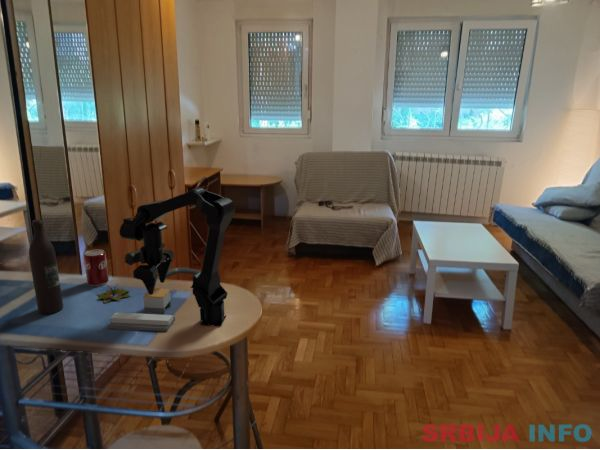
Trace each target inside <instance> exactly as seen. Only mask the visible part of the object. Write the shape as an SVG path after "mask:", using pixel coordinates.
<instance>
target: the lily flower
mask: <svg viewBox="0 0 600 450" xmlns="http://www.w3.org/2000/svg"><path fill="white" fill-rule="evenodd" d="M119 285H120V283H118V284H117V285H116V282H115V283H114V286H113V287H112V286H109V285H108V284H106V287H108V289H106V291H105V292H100V293H96V296H99V297H98V298H97V299H96V301H98V300H102V299H103V304H106V303H108V302H111V301H113V300H115V301H118V302H121V301H120V300H121V299H122V298H126V297H131V295H130V294H128V293H127V292H129V290H127V289H124V288H123V287H121V288H120V287H118V286H119Z"/></svg>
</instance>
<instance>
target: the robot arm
mask: <svg viewBox="0 0 600 450" xmlns="http://www.w3.org/2000/svg"><path fill="white" fill-rule="evenodd" d="M190 205H194V206H195V207H196V209H198V210H199V212H200V213H201V214H204V215H205V221H206V223H207V226H208V233H207V238H206V243H205V248H204V255H203V261H202V266H201V271H199V272H198V273H196V274H194V275H193V276H192V283H191V284H192V285H191V287H190V289H192V295H193V296H194V298H195V301H196V303H197V306H198V308H199V314H200V315H199V316H200V319H199V320H200V325H201V326H210V325H214V326H215V327H222V325H223V324H222V323H224V321H225V319H226V317H227V315H226V314H225V300H226V299H227V297H228V292H227V291H226V289H225V288H224V287H223V286H222V285H221V277H220V276H221V275H220V274H219V272H218V271H219V268H220V267H219V266H220V262H221V256H222V250H223V245H224V242H225V241H224V240H225V236H226V235H225V234H226V230H227V229H228V227H229V225H230V223H231V222H232V220H233V217H234V215H235V211H236V204H234V202H233V200H232V199H230V198H229V197H224V196H222V195H220V194H218V193H214V192H211V191H208V190H207V189H205V188H203V187H196V188H193V189H190V190H188V191H187V192H184V193H183V194H182V193H181V194H179V195H176V196H174V197H171V198H169V199H166V200H165V199H164V200H162V199H161V200H155V201H151V202H147V203H145V204H142V205H139V206H137V209H136V214H135V216H134V218H132V217H125V218H123V222H122V223H121V225H120V228H119V230H118V231H119V235H120V237H121V238H122V239H125V240H129V241H130V240H132V241H137V242H140V241H142V246H141V247H140V249H137V250H134V251H131V252H127V253H126V254H125V256H124V262H125V263H126V265H129V266H133V265H135V264H138V263H140V265H138V266H137V267H136V268H135V269H134V270H133V271H132V276H133V279H136V280H139V281H142V283H143V284H144V286H145V289H146V290H147V291H146V292H148V293H149V294H150V295H152V294H153V292H154V289H155V288H156V284H157V281H158V279H159V281H160V282H159V283H161V284H163V283H164V282H165V281H166V278H167V276H168V273H169V270H170V268H171V265H172V263H173V261H174V258H175V253H174V252H173V250H171V249H164V248H165V247H166V243H164V242H163V235H162V234H163V233H162V231H164V230H167V229H168V226H167V225H166V224H165V223H163V221H158V222H155V221H157V220H161V219H162V218H164V217H165V216H167V215H169V213H170V212H174V211H177V210H178V209H181V208H184V207H187V206H190ZM224 315H225V316H224Z"/></svg>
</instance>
